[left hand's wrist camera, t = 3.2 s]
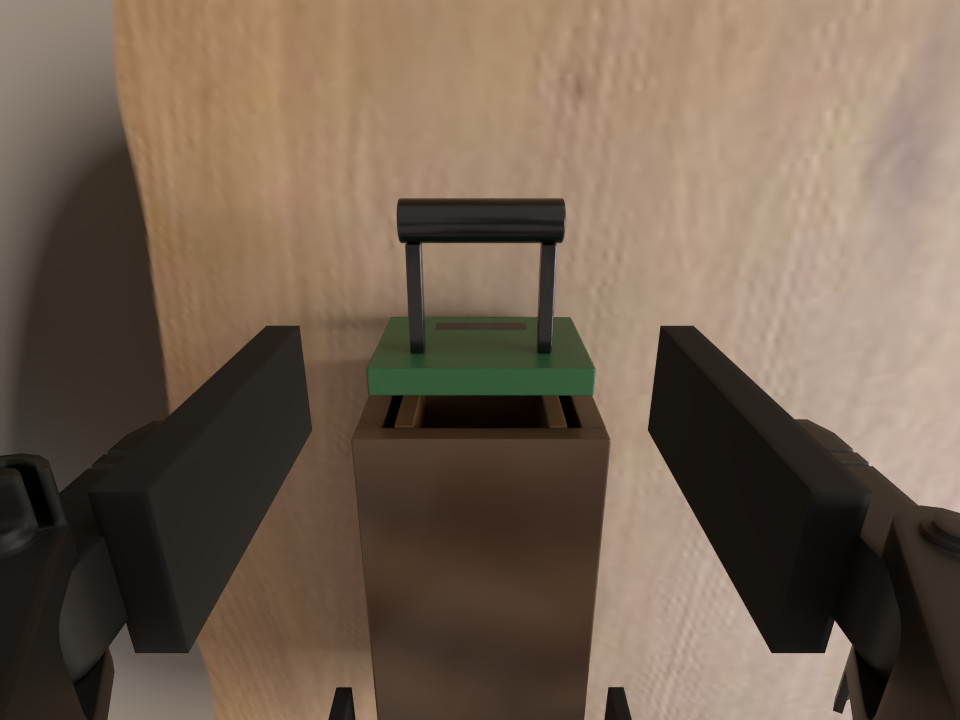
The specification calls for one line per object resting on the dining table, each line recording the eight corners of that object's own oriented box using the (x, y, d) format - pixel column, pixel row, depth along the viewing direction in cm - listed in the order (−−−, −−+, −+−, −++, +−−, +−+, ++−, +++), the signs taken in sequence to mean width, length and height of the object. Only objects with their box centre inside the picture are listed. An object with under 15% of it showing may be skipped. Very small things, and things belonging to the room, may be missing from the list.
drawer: (382, 186, 27) (353, 204, 20) (579, 186, 27) (609, 204, 20) (408, 621, 36) (393, 724, 30) (552, 621, 36) (567, 724, 30)
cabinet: (384, 357, 31) (350, 439, 23) (577, 357, 31) (611, 439, 23) (404, 654, 39) (384, 793, 31) (557, 654, 39) (577, 793, 31)
